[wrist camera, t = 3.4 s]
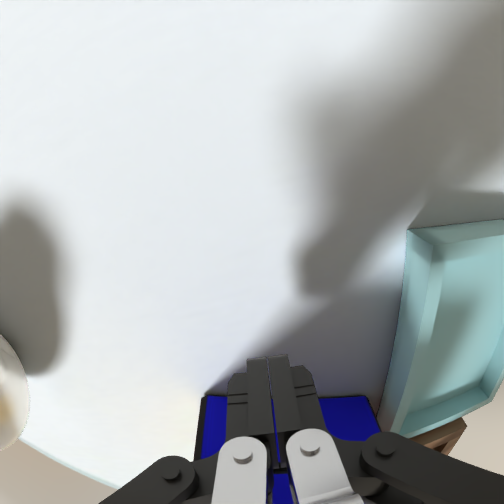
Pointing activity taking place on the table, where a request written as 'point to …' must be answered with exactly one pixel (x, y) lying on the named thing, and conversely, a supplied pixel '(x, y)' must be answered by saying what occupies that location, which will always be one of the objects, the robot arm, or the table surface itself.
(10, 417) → the pearly sea shell
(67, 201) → the table surface
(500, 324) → the tray
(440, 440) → the socket block
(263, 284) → the table surface
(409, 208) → the table surface
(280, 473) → the puzzle cube
